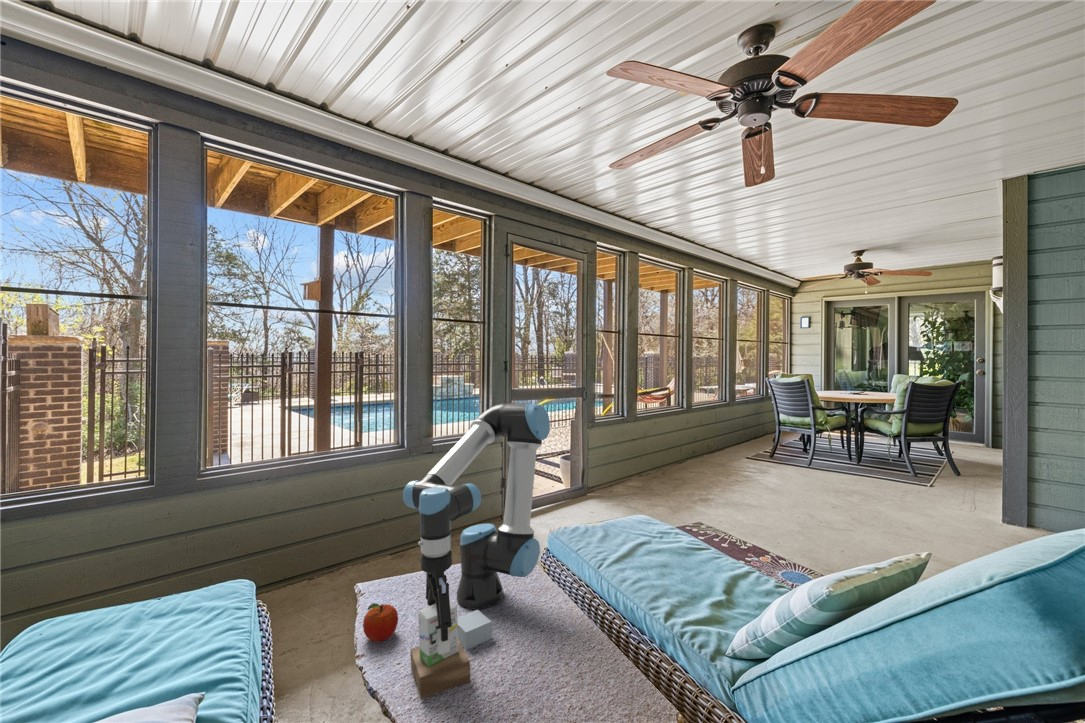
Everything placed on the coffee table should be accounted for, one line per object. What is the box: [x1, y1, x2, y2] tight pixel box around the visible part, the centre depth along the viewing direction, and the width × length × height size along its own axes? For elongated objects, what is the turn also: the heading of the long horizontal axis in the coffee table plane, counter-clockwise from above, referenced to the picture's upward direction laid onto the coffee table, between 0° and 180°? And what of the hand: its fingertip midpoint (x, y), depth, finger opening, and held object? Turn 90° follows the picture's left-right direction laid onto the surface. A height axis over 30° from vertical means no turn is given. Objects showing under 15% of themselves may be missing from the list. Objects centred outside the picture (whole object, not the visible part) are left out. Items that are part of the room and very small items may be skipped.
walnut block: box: [409, 640, 471, 700], centre depth 114 cm, size 12×12×5 cm
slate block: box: [457, 609, 493, 651], centre depth 130 cm, size 8×8×5 cm
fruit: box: [362, 602, 399, 643], centre depth 131 cm, size 10×10×10 cm
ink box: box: [417, 600, 458, 666], centre depth 114 cm, size 8×5×12 cm, turn 131°
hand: (438, 641), depth 114 cm, fingers open, 9 cm apart
